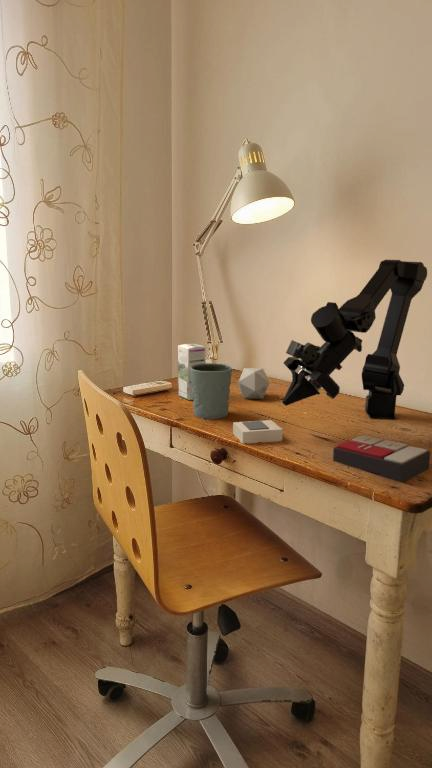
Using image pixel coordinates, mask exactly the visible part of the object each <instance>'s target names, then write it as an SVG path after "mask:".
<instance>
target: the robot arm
mask: <svg viewBox="0 0 432 768" xmlns="http://www.w3.org/2000/svg"><path fill="white" fill-rule="evenodd" d="M427 277H428V268H427V267H426V266H425V265H424V263H423V262H422V261H405V260H404V261H403V260H401V259H384V260H381V261H380V262H379V266H378V269H377V270H376V271H375V273H374V274H373V275H372V276H371V278H370V279H369V280H368V282H367V283H366V284H365V286H364V287H363V288H362V289H361V290H360V293H358V295H356V296H355V297H352V298H350V299H348V300H346V301H345V302H343V304H342V305H341V306H340V307H339V306H338V304H337V303H336V302H331V301H328V302H327V303H326V305H324V306H322V307H319V308H318V309H317V310H315V311H314V312H313V313H312V315H311V317H310V322H311V325H312V326H313V328H314V329H315V330H316V331H317V333H318V334H319V336H320V337H321V339H322V340H323V341H324V343H323V344H322V345H321V346H319V345H315V344H313V343H311V342H306V343H305V344H302V343H300V342H297V341H295V340H293V339H291V341H290V343H289V345H288V347H287V349H286V351H285V354H288V355H289V356H288V357H287V358H286V360H284V361H283V365H284V366H286V368H287V369H288V371H290V372H291V377H292V379H291V383H290V385H289V387H288V389H287V390H286V393H285V395H284V397H283V399H282V404H283V405H284V406H286V407H287V406H289V405H292V404H295V403H297V402H299V401H302V400H304V399H307V398H310V397H313V396H317V395H320V394H321V392H320V390H321V388H322V389H323V390H324V391H325V392H326V396H327V397H329V398H330V399H332V400H334V399H335V398H336V397H337V396H338V395H339V394H340V390H341V389H340V385H339V384H338V383H337V382H336V381H335V380H334V379H333V378H332V376H331V374H332V373H333V372H334V371H335V370H337V371H340V370H341V369H342V368H343V366H342V365H341V364H342V363H343V362H344V361H345V360H346V358H347V357H349V355H351V354H352V352H353V351H354V350H355V351H357V352H359V353H361V352H362V349H363V346H362V343H363V339H361V338H360V337H358V336H356V335H355V334H354V332H355V333H356V332H357V333H363V334H366V333H367V332H369V331H370V329H371V328H372V326H373V324H374V321H375V320H376V318H377V317H376V309H377V307H378V306H379V305H380V303H381V302H382V300H383V299H384V297H385V296H386V295H387V294H388V292H389V291H391V296H390V299H389V303H388V307H387V310H386V314H385V317H384V322H383V326H382V328H381V332H380V337H379V340H378V344H377V347H376V350H375V351H373V353H368V354H367V355H366V357H365V361H364V364H363V367H362V369H361V370H362V371H361V381H362V389H363V391H368V395H366V396H365V404H364V405H365V406H364V411H365V413H366V415H368V417H369V418H371V419H392V420H393V419H397V416H396V414H395V413H396V405H397V404H396V403H397V396H402V394H403V391H404V389H405V388H404V387H405V384H404V381H403V379H402V377H401V375H400V370H401V365H400V362H399V359H398V356H397V353H398V352H399V351H398V350H399V347H400V343H401V339H402V337H403V333H404V329H405V325H406V322H407V317H408V313H409V310H410V307H411V303H412V299H413V298H414V297H416V296H417V294H419V293H420V292H421V291H422V289H423V286H424V283H425V281H426V280H427Z"/></svg>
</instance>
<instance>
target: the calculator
mask: <svg viewBox="0 0 432 768" xmlns="http://www.w3.org/2000/svg"><path fill="white" fill-rule="evenodd" d="M332 452H333V453H332V454H333V455H332V458H333V459H332V461H333V462H335V463H338V464H342V465H345V466H348V467H351V468H355V469H359V470H361V471H364V472H369V473H373V474H376V475H379V476H380V477H382V478H386V479H388V480H392V481H395V482H398V483H402V482H403V483H406V482H407V481H409V480H410V479H412V478H414V477H416V476H418V475H420V474H421V473H424V472H425V471H427V470H429V469H430V461H431V460H430V459H431V451H430V450H428V449H426V448H421V447H417V446H412V445H409V446H408V444H406V443H404V442H403V443H402V442H398V441H393V440H388V439H385V440H384V439H383V438H378V437H374V436H369V435H364V434H362V435H360V436H356V437H355V438H352V439H351V440H346V441H344V442H341V443H338V444H337V445H336V446H335V447H333V450H332Z"/></svg>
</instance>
